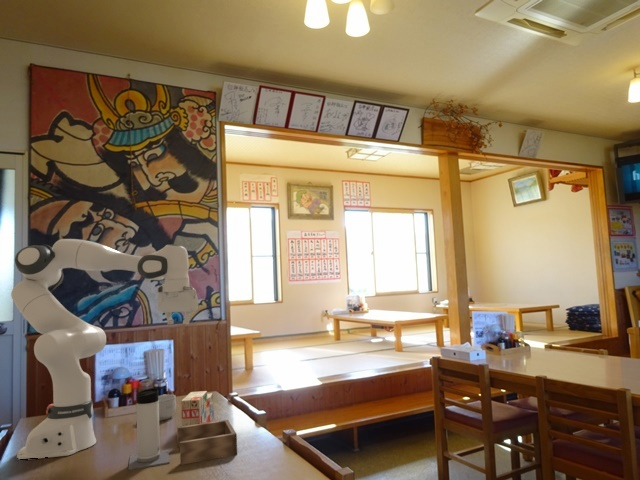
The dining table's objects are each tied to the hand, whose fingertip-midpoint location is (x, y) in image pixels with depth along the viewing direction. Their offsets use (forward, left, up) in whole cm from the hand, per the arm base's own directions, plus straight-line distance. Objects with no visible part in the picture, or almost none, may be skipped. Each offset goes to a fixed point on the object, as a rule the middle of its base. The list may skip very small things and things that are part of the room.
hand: (178, 324), depth 170 cm
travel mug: (-11, -29, -37) cm, 48 cm away
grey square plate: (-11, -29, -37) cm, 49 cm away
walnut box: (+5, -29, -37) cm, 48 cm away
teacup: (-6, +18, -37) cm, 42 cm away
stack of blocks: (+6, -2, -38) cm, 38 cm away
